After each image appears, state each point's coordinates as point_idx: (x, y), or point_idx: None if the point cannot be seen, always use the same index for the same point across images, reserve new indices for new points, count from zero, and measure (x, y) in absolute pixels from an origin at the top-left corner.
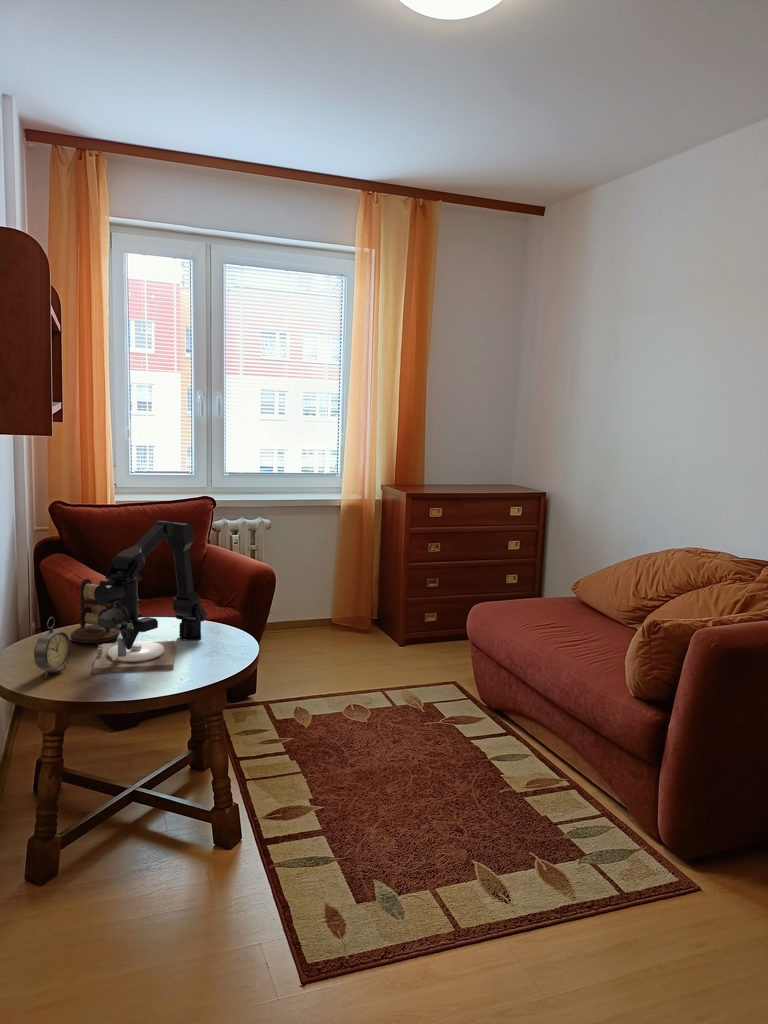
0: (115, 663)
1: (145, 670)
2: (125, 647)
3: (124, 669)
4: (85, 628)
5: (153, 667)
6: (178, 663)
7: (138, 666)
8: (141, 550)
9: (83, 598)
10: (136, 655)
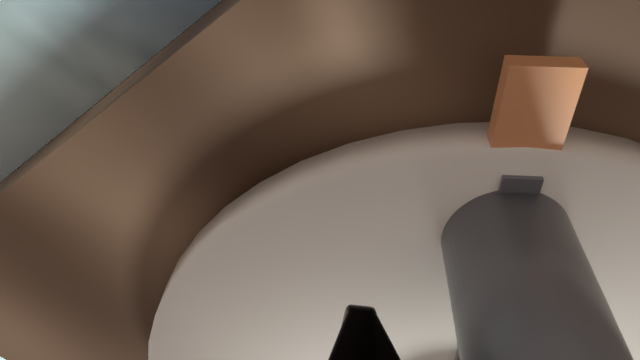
0: (487, 38)
1: (82, 116)
2: (460, 351)
3: None
4: None
5: (9, 179)
6: None
7: (113, 101)
8: None
9: None
10: (313, 294)
